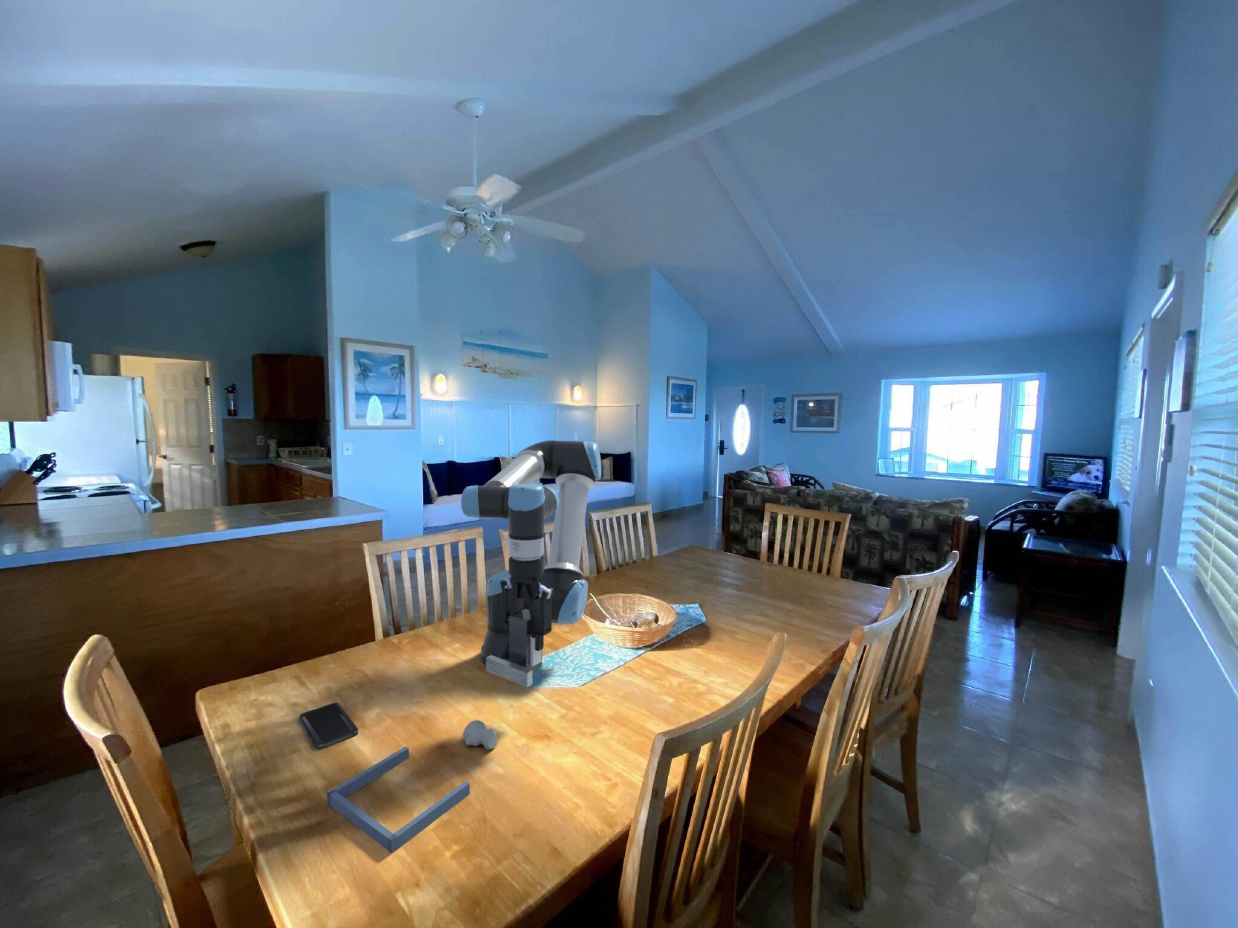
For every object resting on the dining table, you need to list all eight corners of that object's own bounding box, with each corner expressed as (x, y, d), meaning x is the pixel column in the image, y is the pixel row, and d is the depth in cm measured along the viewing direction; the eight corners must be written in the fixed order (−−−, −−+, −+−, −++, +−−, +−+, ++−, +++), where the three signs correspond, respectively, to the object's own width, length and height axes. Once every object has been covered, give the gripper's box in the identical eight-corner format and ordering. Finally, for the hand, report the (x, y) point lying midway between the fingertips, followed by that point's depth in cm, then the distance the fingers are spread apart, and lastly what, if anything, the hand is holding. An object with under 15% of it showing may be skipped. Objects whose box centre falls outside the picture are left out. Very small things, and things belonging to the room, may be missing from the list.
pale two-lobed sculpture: (460, 745, 107) (481, 727, 110) (481, 762, 101) (503, 743, 105) (454, 728, 105) (475, 711, 109) (475, 745, 100) (497, 726, 103)
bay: (405, 756, 101) (405, 746, 101) (469, 793, 91) (469, 782, 91) (327, 803, 88) (327, 792, 88) (391, 853, 79) (391, 840, 79)
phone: (317, 747, 102) (298, 714, 113) (317, 752, 102) (298, 719, 113) (360, 730, 108) (338, 700, 118) (360, 735, 108) (338, 705, 118)
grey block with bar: (513, 656, 120) (514, 605, 119) (554, 670, 114) (554, 617, 113) (486, 670, 113) (485, 617, 112) (527, 687, 107) (527, 630, 106)
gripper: (483, 553, 115) (484, 655, 117) (546, 567, 105) (546, 678, 107) (508, 546, 121) (508, 643, 123) (570, 559, 111) (569, 664, 113)
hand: (526, 659), depth 115 cm, fingers closed on grey block with bar, 5 cm apart
